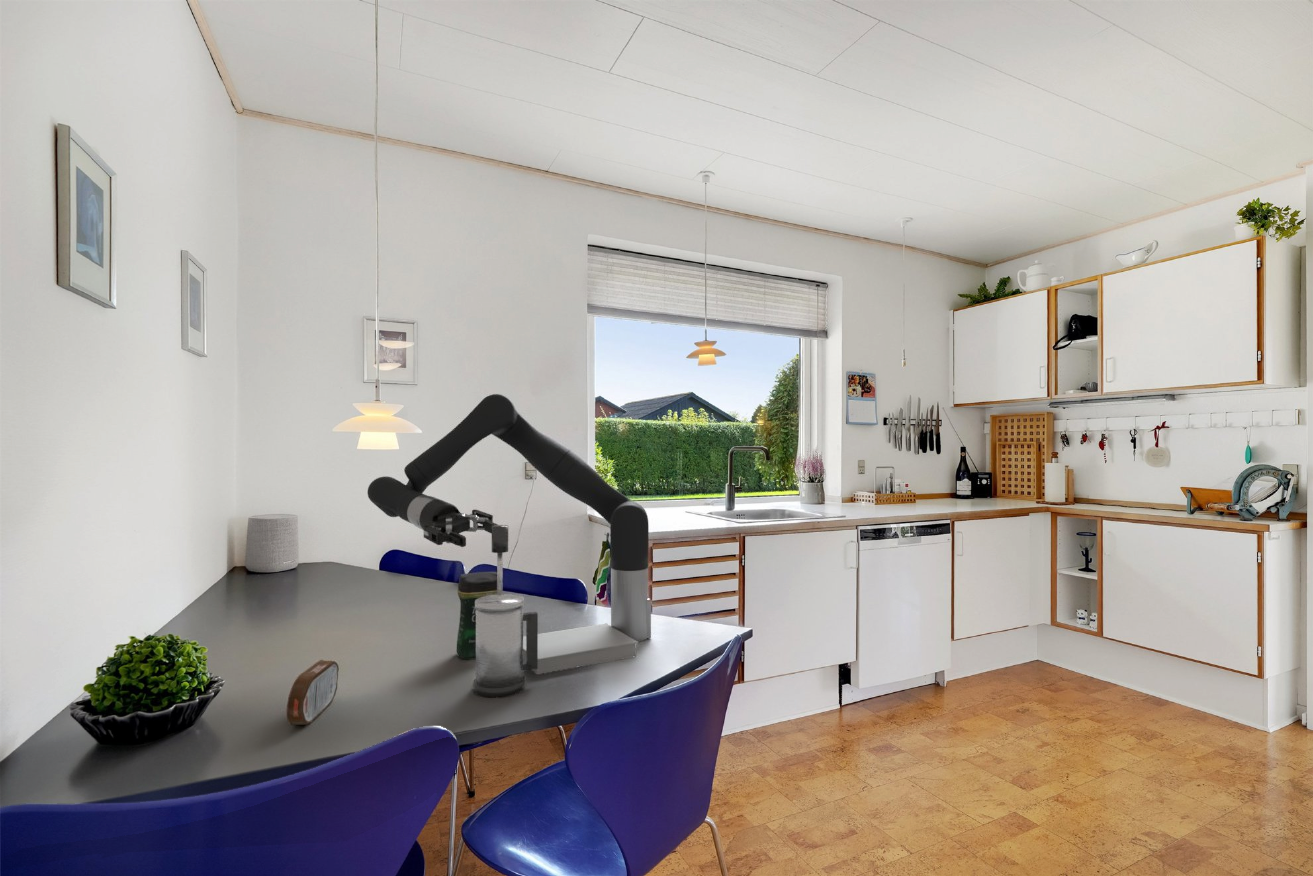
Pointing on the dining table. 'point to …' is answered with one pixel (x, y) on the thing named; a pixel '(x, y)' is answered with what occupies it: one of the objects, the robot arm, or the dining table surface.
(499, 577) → the plunger
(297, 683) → the tin
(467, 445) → the robot arm
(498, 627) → the carafe
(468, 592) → the coffee jar
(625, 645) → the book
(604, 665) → the dining table surface
